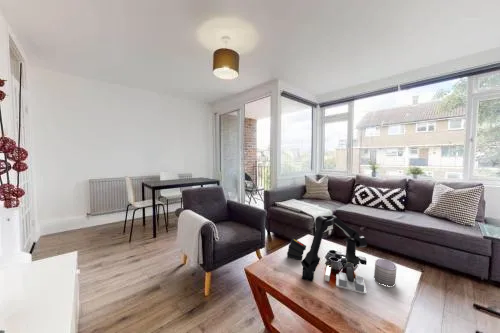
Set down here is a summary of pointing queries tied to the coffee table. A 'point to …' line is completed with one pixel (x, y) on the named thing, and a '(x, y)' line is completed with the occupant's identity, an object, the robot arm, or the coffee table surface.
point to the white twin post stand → (350, 283)
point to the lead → (350, 274)
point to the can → (385, 272)
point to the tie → (327, 273)
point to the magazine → (296, 250)
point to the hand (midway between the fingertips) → (349, 269)
